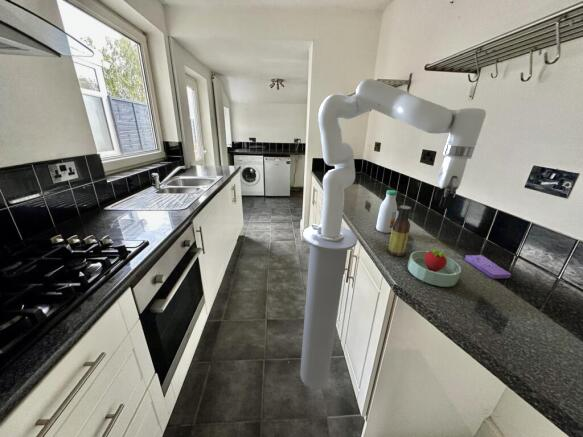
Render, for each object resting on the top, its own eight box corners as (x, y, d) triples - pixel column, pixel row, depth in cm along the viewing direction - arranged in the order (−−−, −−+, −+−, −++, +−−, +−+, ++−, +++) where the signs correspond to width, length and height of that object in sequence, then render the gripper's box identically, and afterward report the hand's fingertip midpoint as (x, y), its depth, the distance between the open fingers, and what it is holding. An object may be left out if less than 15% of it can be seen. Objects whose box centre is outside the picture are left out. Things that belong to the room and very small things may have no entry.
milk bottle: (383, 234, 110) (392, 193, 103) (372, 228, 117) (379, 189, 109) (395, 232, 113) (404, 192, 106) (384, 226, 120) (391, 188, 112)
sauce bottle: (398, 248, 97) (408, 204, 90) (407, 256, 92) (419, 209, 84) (383, 249, 96) (393, 204, 89) (392, 257, 91) (403, 209, 83)
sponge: (480, 259, 92) (481, 254, 91) (510, 278, 80) (512, 274, 80) (463, 259, 91) (465, 255, 91) (491, 278, 80) (493, 274, 79)
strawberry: (432, 266, 85) (440, 242, 81) (446, 279, 78) (455, 253, 74) (417, 266, 84) (424, 242, 80) (429, 279, 77) (438, 253, 73)
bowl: (409, 280, 77) (412, 268, 75) (405, 258, 90) (408, 247, 88) (462, 293, 72) (467, 280, 70) (450, 267, 85) (454, 256, 83)
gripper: (439, 149, 81) (426, 196, 87) (450, 153, 66) (433, 209, 72) (464, 151, 78) (449, 199, 85) (481, 156, 63) (461, 214, 70)
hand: (441, 204), depth 78 cm, fingers open, 9 cm apart
